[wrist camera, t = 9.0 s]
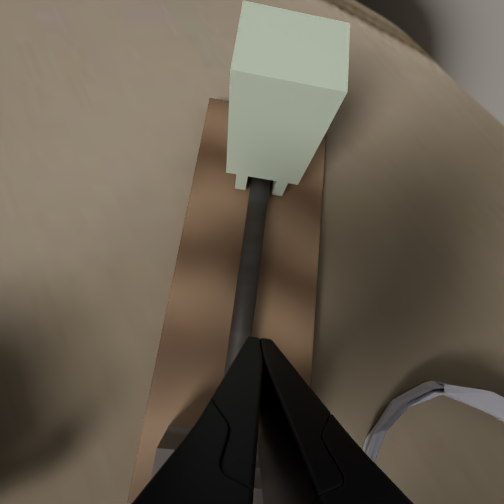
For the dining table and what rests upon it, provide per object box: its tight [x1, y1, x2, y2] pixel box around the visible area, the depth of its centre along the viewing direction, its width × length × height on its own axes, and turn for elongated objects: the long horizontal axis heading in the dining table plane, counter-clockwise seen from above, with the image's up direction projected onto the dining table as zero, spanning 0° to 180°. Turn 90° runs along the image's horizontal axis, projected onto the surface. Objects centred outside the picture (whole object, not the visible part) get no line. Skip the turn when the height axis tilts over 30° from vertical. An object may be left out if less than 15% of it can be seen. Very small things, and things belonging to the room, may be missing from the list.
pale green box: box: [226, 1, 350, 196], centre depth 17 cm, size 4×5×10 cm
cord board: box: [127, 98, 326, 504], centre depth 18 cm, size 28×10×6 cm, turn 173°
